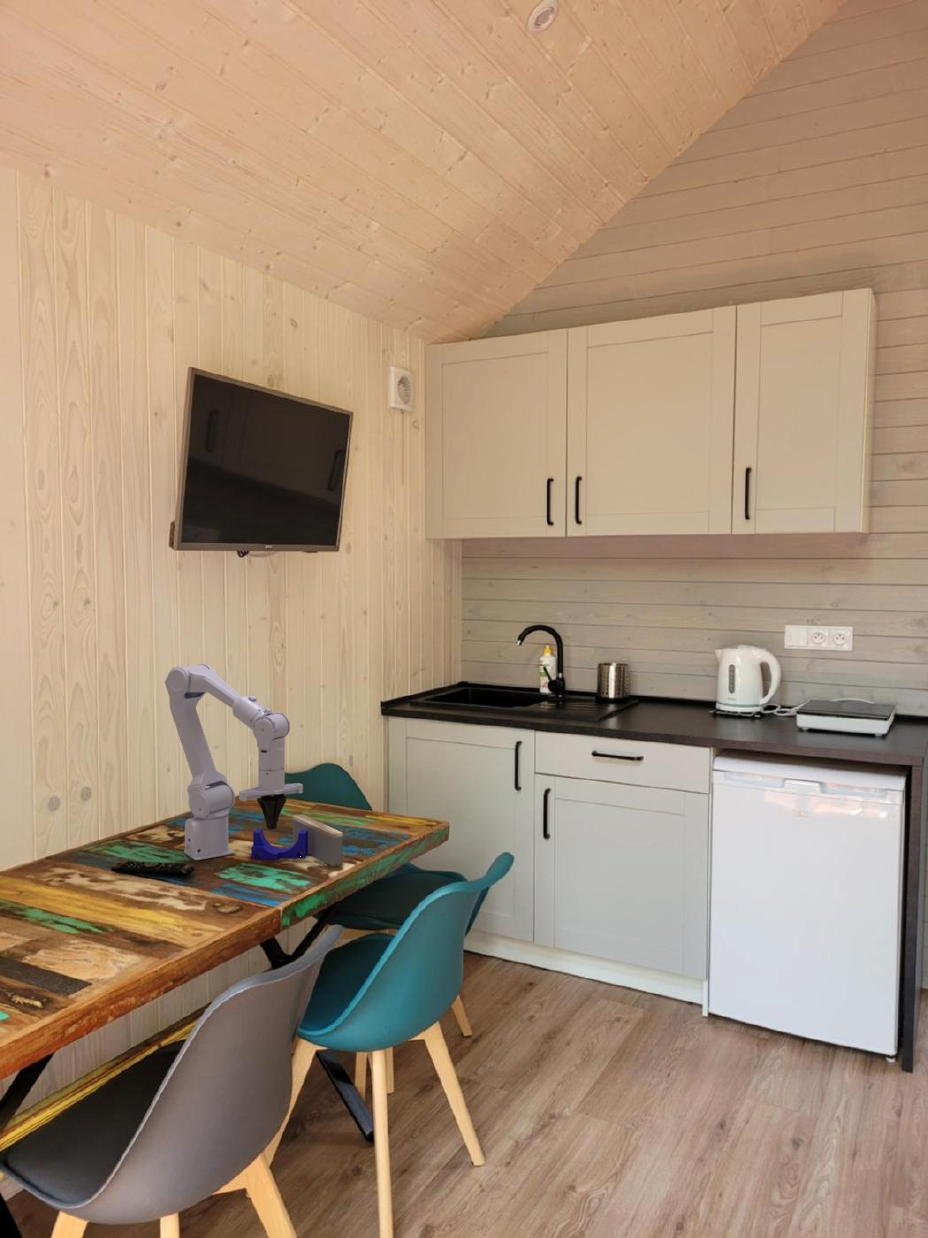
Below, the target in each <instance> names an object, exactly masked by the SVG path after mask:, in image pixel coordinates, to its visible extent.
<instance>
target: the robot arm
mask: <svg viewBox="0 0 928 1238" xmlns="http://www.w3.org/2000/svg"><path fill="white" fill-rule="evenodd" d="M164 684H165V688H166V691H167V693H168V698H169V699H168V700H169V709H170V710H169V711H170V713H171V715H172V719H173V723H174V725H175V728H176V732H177V734H178V737H179V740H180V744H181V747H182V749H183V752H184V755H185V758H186V762H187V763H188V768H189V770H190V773H191V777H192V779H191V781H190V783H189V785H188V786H187V788H186V790H187V791H186V792H187V793H188V807H189V810H190V811H191V813H192V814H193V817H190V818H187V819H186V820H185V823H184V850H183V853H184V854H185V855H187V856H189V858H191V859H192V860H194V861H200V860H201V861H202V860H207V859H211V858H218V857H223V856H229V855H234V854H236V852H235V850H233V849H232V848H230V847H229V813H231V808H232V807H233V806H234V804H235V802H236V794H235V789H234V788H233V787H232V786H231V785H230V783H229V782H228V779H227V776H225V774H223V773H221V772H219V771H218V770H217V768H216V765H215V763H214V760H213V756H212V753H211V750H210V747H209V745H208V741H207V739H206V735H205V732H204V729H203V726H202V723H201V720H200V718H199V714H198V711H197V706H198V703H199V702H200V700H201V699H202V698H203V697H204V696H205V695H206V693H208V694H209V695H211V696H212V697H214V698H215V699H217V700H219V701H220V702H222V703H223V704H225V705H226V706H228V707H230V708H231V709H232V715H233V716H234V717H235V718H236V719H237V720H239V721H240V722H242V723H243V724H244V725H245V726H247V727H248V728H250V729H251V730H252V735H253V736H254V738H255V740H256V747H257V749H258V786H257V787H252V788H248V789H243V790H239V791H238V797H239V798H238V800H239V801H241V802H247V800H248V801H250V800H256V801H257V803H258V805H259V807H260V809H261V811H262V813H263V817H264V820H265V825H266V828H267V829H268V830H270V831H272V830H277V826H278V821H279V818H280V815H281V812H282V810H283V808H284V806H285V804H286V802H287V796H286V795H291V794H292V795H293V794H303V793H304V785H303V784H302V783H299V782H296V783H285V780H286V779H285V778H286V777H285V775H286V774H285V759H286V758H285V755H286V754H285V745H286V741H285V740H286V737H287V736H288V734H289V733H290V729H291V724H290V721H289V719H288V718H287V716H286V715H285V714H284V713H282V712H274V711H272V708H270V707H266V706H265V705H264V704H262V703H261V702H259V701H258V700H257V699H258V697H256V696H254V695H243V696H242V695H241V694H240V693H238V691H236V690H235V689H234V688H233V687H232V686H231V685H229V684H228V683H227V682H226V681H224V680H223V679H222V678H221V677H220V676H219V675H218V673H217V670H216V669H214V668H212V667H211V666H209V665H208V664H205V663H201V664H195V665H187V666H175V667H172V668H171V669H170V670H169V672H168V674H167V676H166V679H165V680H164Z"/></svg>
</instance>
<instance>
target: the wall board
mask: <svg viewBox="0 0 928 1238" xmlns="http://www.w3.org/2000/svg"><path fill="white" fill-rule="evenodd" d="M301 830H308V855H310V856H311V857H314V858H315V857H316V859H317V858H318V860H319V859H320V861H321V862H324V864H326V865H327V864H328V865H329V864H330V865H329V866H331V867H336V865H338V866H341V865H340V864H343V862H344V861H343V857H344V856H343V854H344V853H343V851H344V850H343V846H344V843H343V839H344V837H343V836H344V833H343V832H342V831H340V830H337V829H336V828H333V827H331V826H328V825H326V824H324V823H323V822H320V821H318V820H315V819H313V818H312V817H310V816H307V815H305V814H301V813H300V814H297V815H296V814H295V815H292V846H293V845H295V844H296V842H297V840H298V835H299V832H300V831H301Z"/></svg>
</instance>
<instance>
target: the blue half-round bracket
mask: <svg viewBox="0 0 928 1238" xmlns="http://www.w3.org/2000/svg"><path fill="white" fill-rule="evenodd" d="M252 833H253V834H252V837H253V838H252V842H253V843H252V846H251V847H250V848H251V849H250V850H251V853H250V855H251V858H250V860H258V861H259V860H261V861H263V860H264V861H266V860H267V861H278V860H279V859H299V858H300V859H301V858H302V860H303V859H306V858H307V857H308V855H309V854H308V830H301V831H300V832H299V835H298V840H297V842H296V844H295V845H293V844H292V846H290V847H287V848H285V847H284V848H280V847H277V846H273V844H272V843H270V842H269V841H268V840H267V838H266V836H265V833H264V829H263V828H256V829H255V830H254V831H253V832H252ZM300 856H301V857H300ZM306 856H307V857H306Z"/></svg>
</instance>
